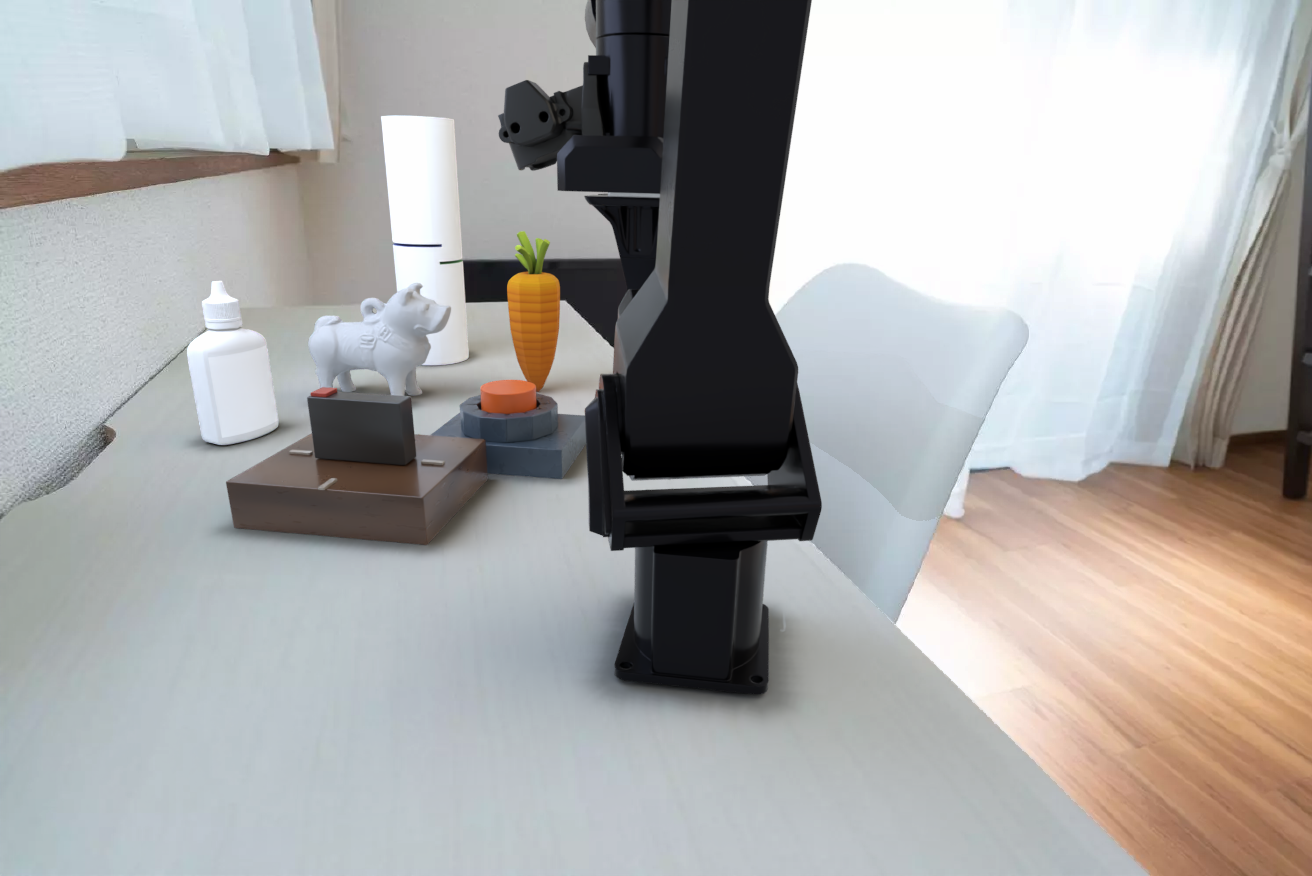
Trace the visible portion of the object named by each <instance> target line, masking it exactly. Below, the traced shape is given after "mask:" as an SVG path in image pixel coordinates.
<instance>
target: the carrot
mask: <svg viewBox="0 0 1312 876" xmlns="http://www.w3.org/2000/svg"><path fill="white" fill-rule="evenodd" d="M516 237H517V239H518V241H519V243H520V244H517V245H515V246H514V249H515V251H517V252H518V253H515V254H514V257H515V258H516V259H517V260H518V261H519V262H520V264H521V265H522V266H523V267H524V268H525V269H526V271H522V272H518V273H516V274H514V275H513V276H512V277H511V278H510V279H509V280H508V282H507V285H506V294H507V295H506V296H507V307H508V320H509V329H510V334H511V339H512V345H513V349H514V353H515V357H516V359H517V363H518V366H519V368H520V370H521V372H522V375H523V376H524V378H525V381H528V382H531V383H533V384H535V386H536V393H539V392H540V391H541V390H542V389H543V387H544V386H545V384H546V382H547V379H548V377H549V375H550V373H551V370H552V367H553V364H554V360H555V357H556V351H557V346H558V338H559V332H560V320H561V319H560V318H561V317H560V315H561V313H560V312H561V286H560V285H561V284H560V281H559V279H558V278H557V277H556V276H555V275H554V274H552V273H549V272H544V271H543V265H544V260H545V257H546V254H547V251H548V249H549V247H550V244H551V241H550V240H548V239H546V238H544V239H542V238H539V237H536V238H535V249H536V254H535V251H534V249H533V246H532V243H531V241H530V239H529V237H528V235H527V233H526V231H525V230H522V231H518V232H517V233H516Z"/></svg>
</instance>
